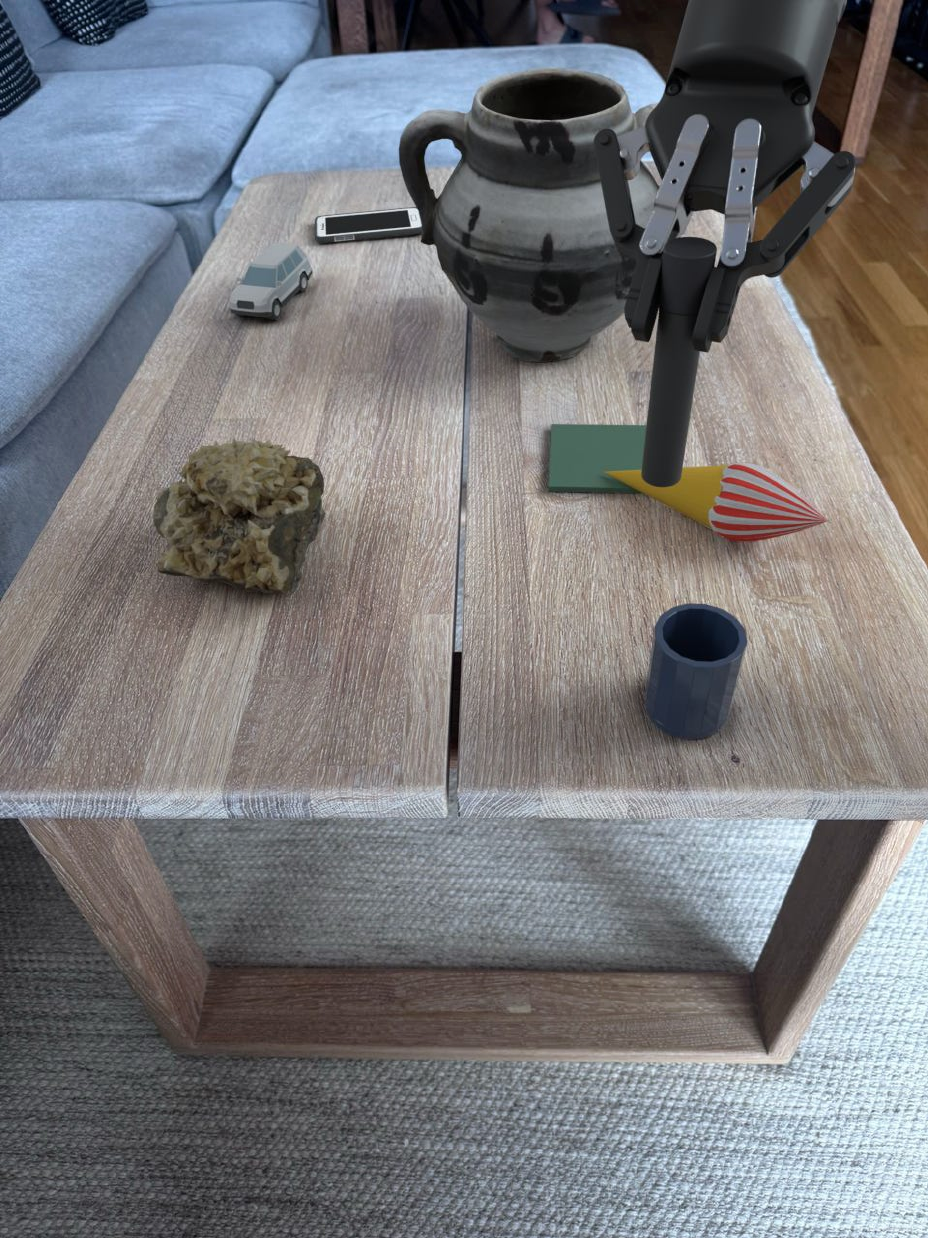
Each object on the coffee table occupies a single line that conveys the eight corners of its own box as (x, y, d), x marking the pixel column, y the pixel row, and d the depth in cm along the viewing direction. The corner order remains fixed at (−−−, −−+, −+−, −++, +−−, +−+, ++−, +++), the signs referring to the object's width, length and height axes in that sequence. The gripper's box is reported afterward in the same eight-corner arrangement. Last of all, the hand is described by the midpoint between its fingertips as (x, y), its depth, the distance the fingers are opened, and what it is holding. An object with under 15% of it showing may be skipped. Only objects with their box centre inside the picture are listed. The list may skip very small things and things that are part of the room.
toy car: (227, 324, 105) (217, 282, 102) (275, 277, 114) (267, 237, 111) (271, 329, 104) (263, 286, 100) (317, 281, 113) (310, 241, 109)
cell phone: (425, 234, 121) (424, 227, 121) (315, 244, 121) (314, 237, 120) (420, 213, 127) (419, 205, 126) (315, 223, 126) (314, 215, 125)
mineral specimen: (123, 600, 72) (80, 498, 65) (193, 502, 81) (162, 404, 74) (295, 623, 69) (269, 519, 62) (348, 519, 78) (331, 418, 71)
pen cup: (724, 677, 63) (741, 604, 58) (733, 741, 59) (752, 668, 54) (642, 674, 64) (652, 601, 59) (646, 737, 60) (657, 665, 55)
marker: (685, 466, 56) (719, 237, 46) (679, 491, 54) (714, 259, 44) (642, 461, 56) (667, 233, 46) (636, 485, 55) (660, 255, 45)
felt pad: (646, 430, 86) (647, 424, 85) (652, 493, 78) (653, 488, 78) (551, 429, 86) (551, 423, 86) (548, 491, 79) (548, 486, 79)
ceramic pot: (672, 295, 105) (702, 47, 88) (689, 399, 89) (730, 120, 72) (427, 296, 108) (409, 56, 91) (400, 397, 92) (372, 127, 74)
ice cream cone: (612, 509, 83) (830, 563, 71) (575, 504, 78) (802, 560, 66) (629, 441, 82) (853, 484, 70) (592, 431, 77) (827, 475, 65)
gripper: (618, -51, 45) (525, 294, 46) (922, -44, 40) (811, 340, 41) (640, 46, 52) (559, 343, 53) (901, 61, 47) (807, 386, 48)
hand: (670, 340), depth 47 cm, fingers closed on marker, 2 cm apart
